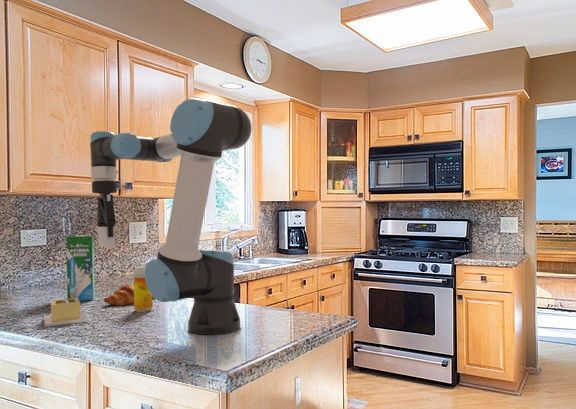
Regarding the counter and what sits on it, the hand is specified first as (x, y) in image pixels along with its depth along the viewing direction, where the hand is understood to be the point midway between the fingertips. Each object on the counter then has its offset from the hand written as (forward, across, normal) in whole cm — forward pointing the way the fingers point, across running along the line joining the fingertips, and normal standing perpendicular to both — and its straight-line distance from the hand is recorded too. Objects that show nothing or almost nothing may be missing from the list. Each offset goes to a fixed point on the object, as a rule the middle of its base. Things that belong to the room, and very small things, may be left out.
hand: (106, 247), depth 153 cm
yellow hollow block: (+22, +8, +12) cm, 26 cm away
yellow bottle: (+23, +9, -13) cm, 28 cm away
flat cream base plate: (+23, +8, +12) cm, 27 cm away
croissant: (+23, +26, -12) cm, 37 cm away
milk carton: (+22, +43, +3) cm, 48 cm away
